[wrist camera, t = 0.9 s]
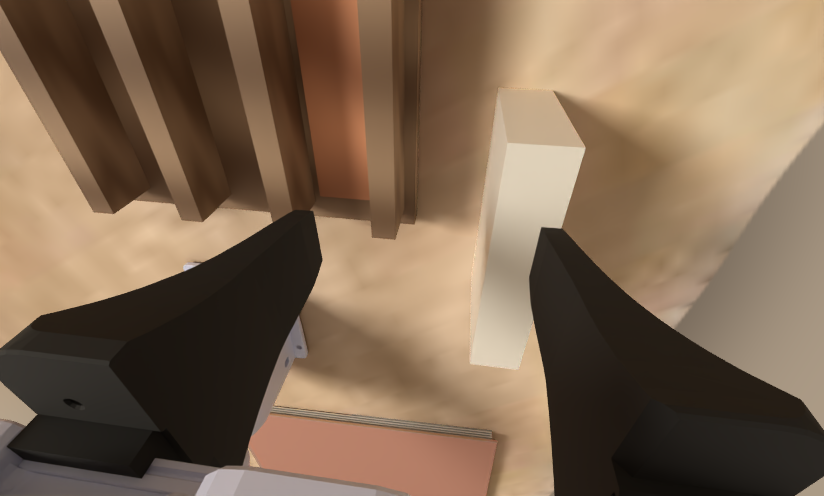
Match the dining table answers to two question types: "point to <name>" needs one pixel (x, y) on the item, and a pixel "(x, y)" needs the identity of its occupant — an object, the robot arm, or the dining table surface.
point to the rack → (228, 102)
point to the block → (518, 217)
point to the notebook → (377, 451)
